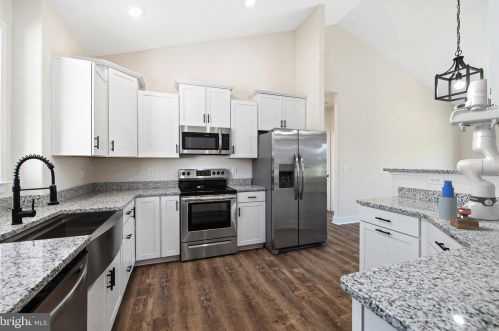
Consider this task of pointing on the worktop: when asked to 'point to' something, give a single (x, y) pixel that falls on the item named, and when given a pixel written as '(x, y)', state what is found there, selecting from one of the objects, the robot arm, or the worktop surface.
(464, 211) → the copper cross-head bolt
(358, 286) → the worktop surface
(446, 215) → the spray bottle
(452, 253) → the worktop surface
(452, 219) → the block
